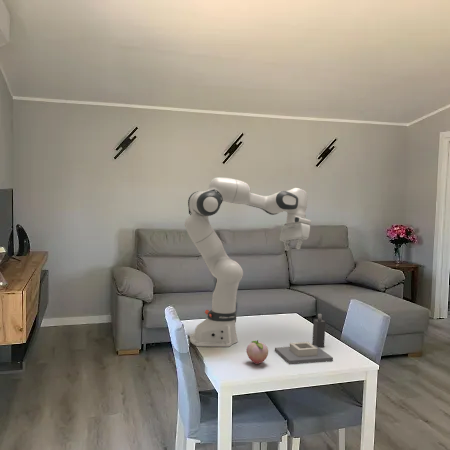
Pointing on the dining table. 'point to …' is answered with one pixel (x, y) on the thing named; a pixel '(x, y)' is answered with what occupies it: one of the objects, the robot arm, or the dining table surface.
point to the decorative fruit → (257, 351)
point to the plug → (318, 332)
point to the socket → (303, 353)
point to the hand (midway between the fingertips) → (292, 249)
